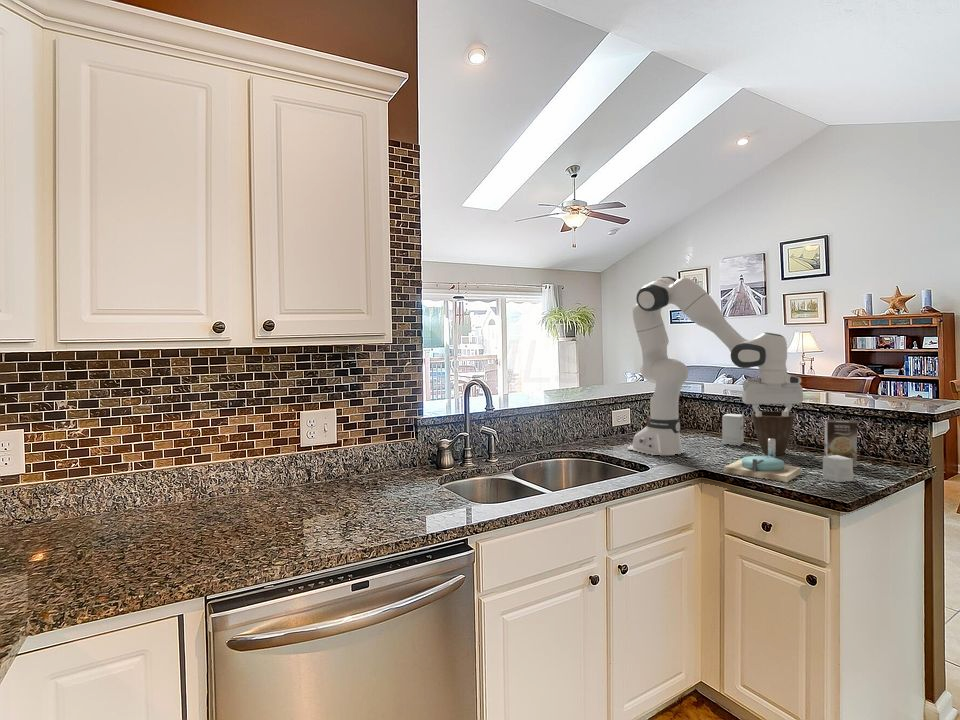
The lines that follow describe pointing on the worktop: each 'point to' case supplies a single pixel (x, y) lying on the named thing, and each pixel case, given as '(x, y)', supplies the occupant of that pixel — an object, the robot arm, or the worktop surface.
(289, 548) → the worktop surface
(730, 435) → the supplement box
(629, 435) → the worktop surface
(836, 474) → the skincare box
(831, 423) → the coffee box
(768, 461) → the dial
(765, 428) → the plant pot
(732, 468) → the dial base
